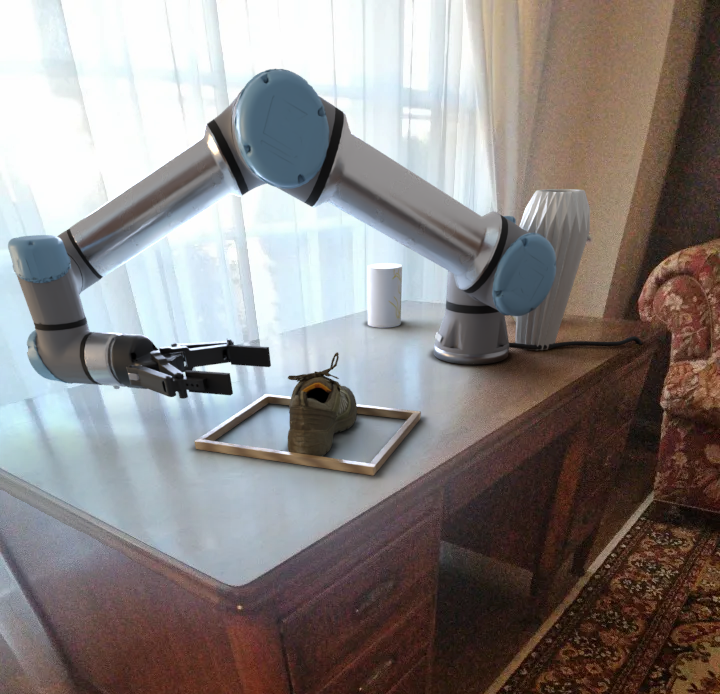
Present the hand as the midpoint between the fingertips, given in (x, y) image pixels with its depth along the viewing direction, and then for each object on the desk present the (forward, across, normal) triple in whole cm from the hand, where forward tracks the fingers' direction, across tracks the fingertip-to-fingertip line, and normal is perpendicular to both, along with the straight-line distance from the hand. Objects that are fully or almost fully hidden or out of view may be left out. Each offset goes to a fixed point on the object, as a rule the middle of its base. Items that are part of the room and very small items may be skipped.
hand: (251, 370), depth 84 cm
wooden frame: (+9, -1, -9) cm, 12 cm away
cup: (+2, -72, -9) cm, 72 cm away
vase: (+39, -58, -9) cm, 71 cm away
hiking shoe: (+10, -1, -9) cm, 13 cm away
